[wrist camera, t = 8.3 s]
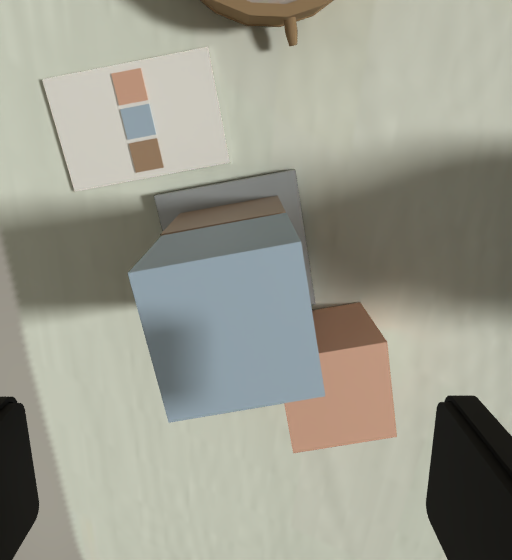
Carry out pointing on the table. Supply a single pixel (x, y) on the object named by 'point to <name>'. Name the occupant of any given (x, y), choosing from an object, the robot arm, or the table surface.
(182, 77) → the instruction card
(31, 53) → the table surface
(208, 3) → the alarm clock
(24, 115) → the table surface
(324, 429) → the terracotta block
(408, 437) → the table surface
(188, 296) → the blue block
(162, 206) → the base
